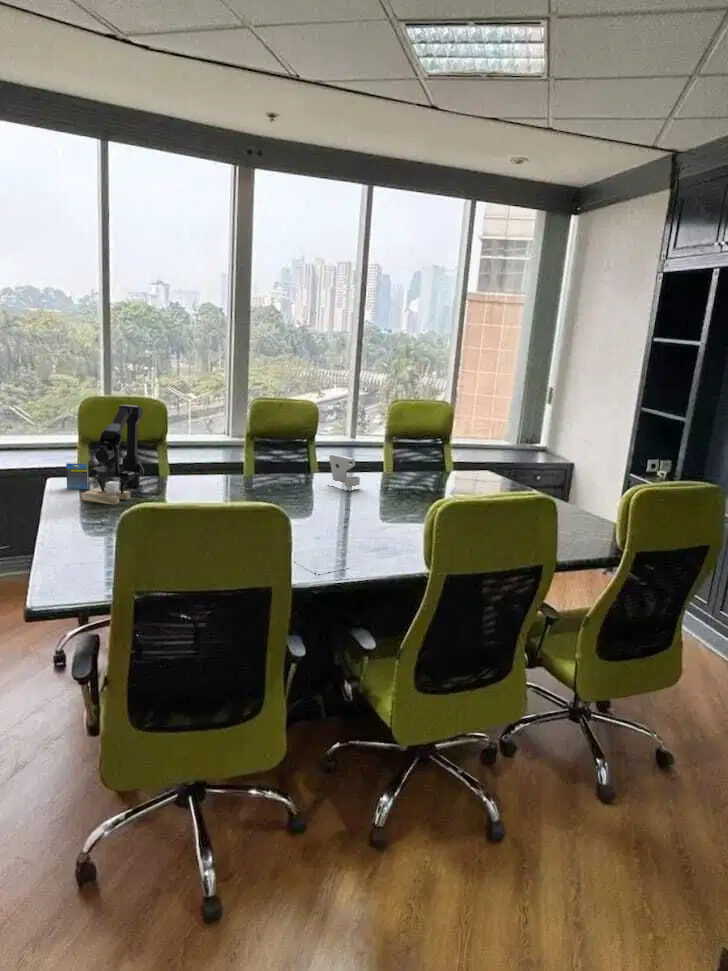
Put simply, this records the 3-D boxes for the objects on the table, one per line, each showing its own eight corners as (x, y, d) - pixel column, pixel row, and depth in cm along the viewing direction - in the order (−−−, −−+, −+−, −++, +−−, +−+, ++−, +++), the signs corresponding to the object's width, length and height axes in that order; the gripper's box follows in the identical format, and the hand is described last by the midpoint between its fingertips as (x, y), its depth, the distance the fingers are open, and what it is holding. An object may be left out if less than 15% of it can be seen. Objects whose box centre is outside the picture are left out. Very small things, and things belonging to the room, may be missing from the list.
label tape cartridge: (88, 487, 283) (88, 461, 280) (87, 489, 280) (87, 463, 277) (67, 487, 280) (67, 461, 277) (66, 489, 277) (65, 463, 274)
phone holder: (361, 489, 326) (364, 456, 322) (350, 491, 318) (352, 458, 314) (336, 482, 336) (338, 451, 331) (324, 485, 328) (327, 453, 323)
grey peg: (111, 498, 269) (110, 481, 267) (119, 499, 268) (119, 482, 266) (105, 500, 265) (105, 483, 263) (114, 501, 264) (113, 484, 263)
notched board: (98, 493, 274) (97, 487, 273) (130, 498, 272) (130, 491, 271) (81, 500, 263) (81, 493, 262) (115, 504, 260) (115, 498, 259)
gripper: (81, 458, 256) (82, 493, 260) (121, 464, 253) (121, 499, 257) (96, 454, 267) (97, 488, 270) (135, 459, 264) (135, 493, 267)
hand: (112, 492), depth 266 cm, fingers open, 9 cm apart
